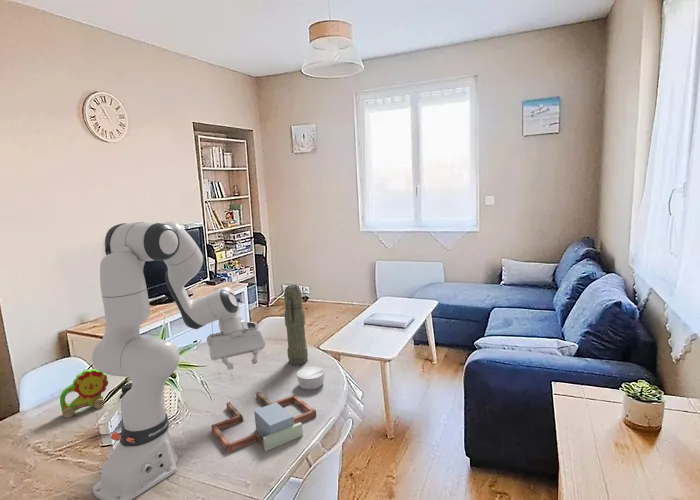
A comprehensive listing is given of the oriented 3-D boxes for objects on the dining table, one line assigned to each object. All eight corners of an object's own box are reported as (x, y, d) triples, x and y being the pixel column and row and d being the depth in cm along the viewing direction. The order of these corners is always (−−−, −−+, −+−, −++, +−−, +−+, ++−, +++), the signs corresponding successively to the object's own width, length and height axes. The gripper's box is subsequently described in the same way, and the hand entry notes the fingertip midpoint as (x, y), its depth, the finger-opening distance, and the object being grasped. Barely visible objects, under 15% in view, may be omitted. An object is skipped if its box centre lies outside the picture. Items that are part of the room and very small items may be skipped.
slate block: (256, 430, 143) (254, 410, 142) (278, 421, 147) (276, 402, 146) (272, 446, 133) (270, 425, 132) (295, 436, 138) (293, 416, 137)
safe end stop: (264, 449, 132) (263, 437, 131) (301, 433, 139) (300, 422, 138) (266, 451, 131) (264, 439, 130) (303, 435, 138) (302, 423, 137)
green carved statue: (285, 367, 191) (278, 290, 185) (291, 356, 202) (285, 283, 197) (305, 366, 190) (299, 289, 184) (310, 356, 201) (304, 282, 196)
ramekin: (321, 392, 166) (320, 379, 165) (293, 390, 168) (292, 378, 168) (328, 378, 177) (327, 366, 176) (302, 378, 179) (301, 366, 179)
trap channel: (201, 417, 153) (200, 411, 153) (281, 388, 170) (280, 384, 170) (235, 462, 127) (234, 455, 126) (325, 423, 144) (324, 417, 144)
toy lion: (63, 420, 157) (56, 380, 154) (62, 414, 161) (55, 375, 159) (112, 405, 166) (106, 367, 163) (110, 399, 170) (104, 363, 168)
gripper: (208, 331, 150) (218, 370, 146) (261, 322, 164) (271, 357, 159) (202, 338, 155) (212, 375, 150) (254, 328, 168) (264, 362, 163)
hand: (243, 366), depth 154 cm, fingers open, 8 cm apart
